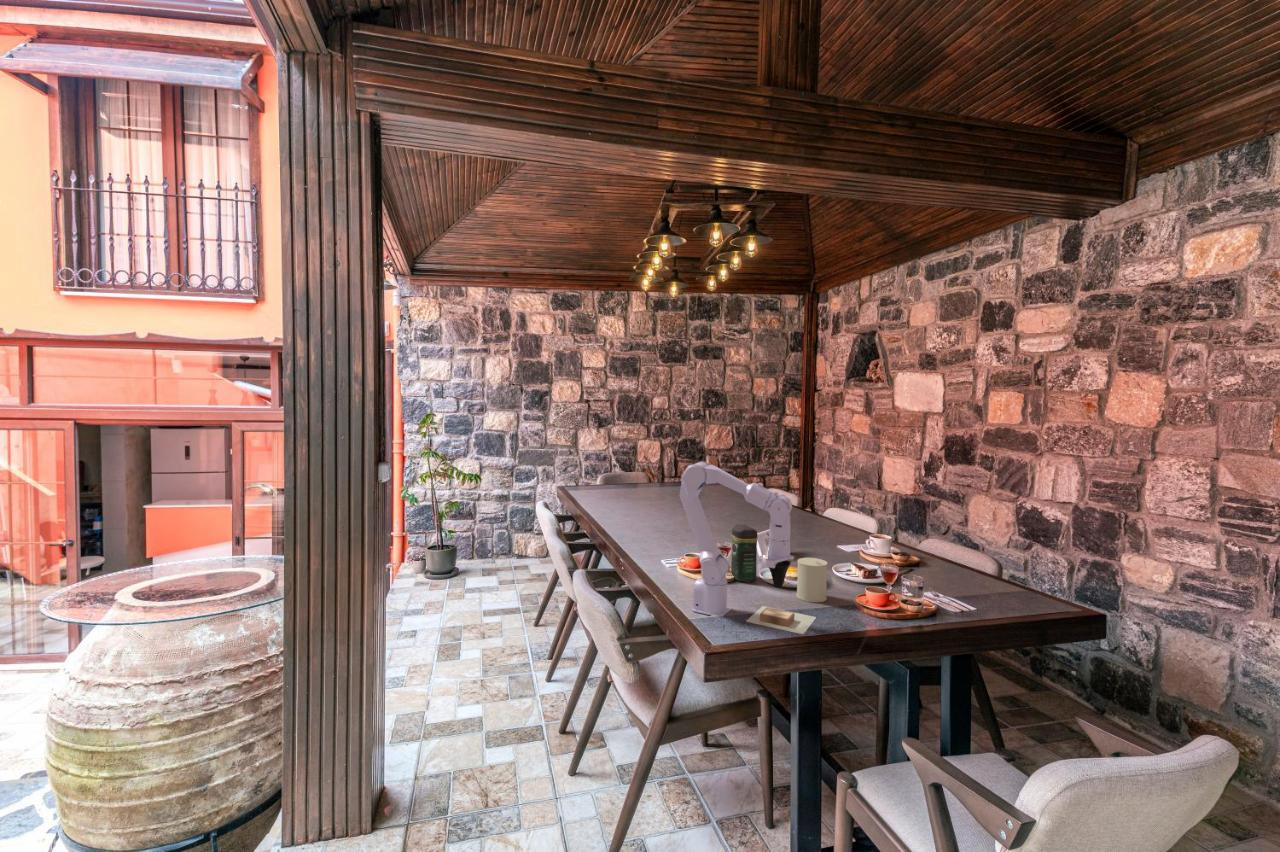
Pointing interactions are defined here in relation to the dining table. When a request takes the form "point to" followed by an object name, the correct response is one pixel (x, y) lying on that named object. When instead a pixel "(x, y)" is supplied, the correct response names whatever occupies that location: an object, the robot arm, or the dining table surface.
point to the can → (812, 579)
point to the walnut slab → (777, 617)
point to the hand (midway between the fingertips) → (778, 586)
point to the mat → (797, 626)
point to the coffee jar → (744, 553)
